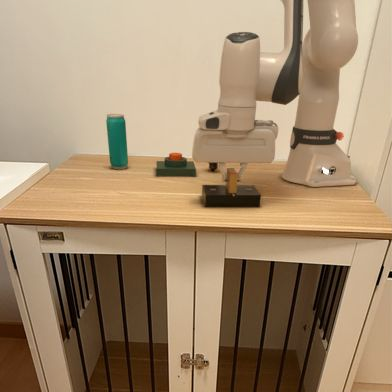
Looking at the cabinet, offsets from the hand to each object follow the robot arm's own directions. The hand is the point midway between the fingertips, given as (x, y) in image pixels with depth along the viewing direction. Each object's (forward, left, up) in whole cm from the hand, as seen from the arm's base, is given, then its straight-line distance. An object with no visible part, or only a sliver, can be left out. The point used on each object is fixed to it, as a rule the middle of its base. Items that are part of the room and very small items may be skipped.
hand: (231, 181), depth 104 cm
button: (+13, -30, -2) cm, 33 cm away
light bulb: (+1, -32, -5) cm, 32 cm away
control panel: (0, 0, -5) cm, 5 cm away
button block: (+13, -30, -5) cm, 33 cm away
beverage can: (+31, -35, -5) cm, 47 cm away
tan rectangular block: (0, 0, -2) cm, 2 cm away
